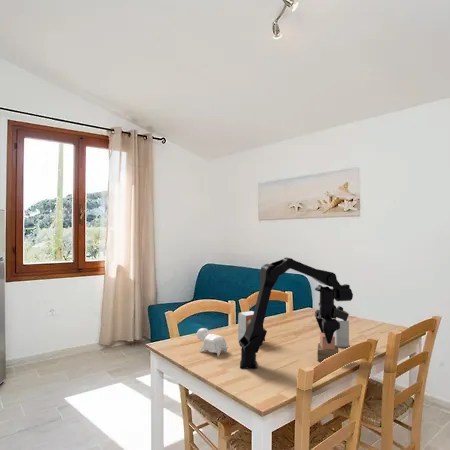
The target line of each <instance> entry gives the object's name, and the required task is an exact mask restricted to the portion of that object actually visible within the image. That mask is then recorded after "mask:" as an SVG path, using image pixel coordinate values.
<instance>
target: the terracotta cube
mask: <svg viewBox="0 0 450 450" xmlns="http://www.w3.org/2000/svg"><path fill="white" fill-rule="evenodd" d="M319 343H320V346H321V348H322V349H335V336H334V335H333V337H332V341H331V344H328V343H327V340H326V337H325V334H324V333H321V332H319Z"/></svg>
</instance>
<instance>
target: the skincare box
mask: <svg viewBox="0 0 450 450" xmlns="http://www.w3.org/2000/svg"><path fill="white" fill-rule="evenodd" d="M336 320H337V321H338V322H339V323H340V329H338V330H336V331H335V332H334V334H333V335H334V336H335V345H338V348H345V347H346V348H349V347H350V343H349V342H350V320H349V319H347V321H344V320H342V319H340V318H337V317H336Z"/></svg>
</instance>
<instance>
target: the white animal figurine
mask: <svg viewBox="0 0 450 450" xmlns="http://www.w3.org/2000/svg"><path fill="white" fill-rule="evenodd" d="M196 337H197V339H198V340H199V341H201V342H203V345H202V346H201V347H200V349H199V352H200V353H202V352H204V351H206V350H207V351H208V352H209V353H215V354H217V357H220V355H221V353H222V352H224V353H226V354H227V352H228V348H229V346H228V344H227V341H226V339H225V337H224V336H222V335H218V334H213V333H210V332H209V329H207V328H204V327H201V328H199V329H198V330H197V332H196Z"/></svg>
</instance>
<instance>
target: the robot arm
mask: <svg viewBox="0 0 450 450" xmlns="http://www.w3.org/2000/svg"><path fill="white" fill-rule="evenodd" d="M289 270H294V271H296V272H298V273H301V274H303V275H306V276H309V277H311V278H312V279H313V280H314V281H316V282H318V283H319V284H318V285H317V286H316V287H315V288H314V291H317V292H319V302H318V307H319V309H316V310H315V311H314V317H315V320H316V323H317V324H318V328H319V330H320V333H324V334H325V337H326V340H327V343H328V344H331V341H332V337H333V334H334V332H335V331H336V330H338V329H340V323H339V322H338V321H337V320H336V319H337V318H340V319H342V320H344V321H347V320H348V318H349V315H350V314H349V313H348V312H347V311H345V310H344V308H343V306H340V305H338V306H336V305H335V301H336V302H350V301H352V300H353V297H354V294H353V291H352V289H351V287H350V284H347V283H346V284H345V283H344V284H341V283H340V282H339V281H338V278H337V277H338V276H337V275H336V273H334V272H333V271H328V270H324V269H323V270H322V269H319V268H315V267H312V266H309V265H307V264H304V263H302V262H301V261H297V260H294V259H293V258H290V257H284V258H282V259H280V260H276V261H274V262H272V263H265V264H263V265H262V266H261V268H260V271H259V282H260V287H259V290H258V294H257V298H256V303H255V307H254V311H253V312H254V314H253V318H252V321H251V322H250V324H249V325H248V327H247V329H246V331H245V334H244V336H243V337H242V338H241V339H240V340H238V343H239V346H240V348H241V349H240V356H241V357H240V358H241V359H240V361H239V362H240V363H239V368H240V369H255V370H256V369H258V362H257V354H258V353H259V351H260V347H261V346H262V345H263V343H264V342H266V336H267V333H268V332H267V331H268V330H266V329H265V328H264V322H265V318H266V313H267V310H268V306H269V303H270V302H269V301H270V298H271V295H272V290H273V288H274V286H275V285H276V284H277V282H278V280H279V277H280V276H281V275H283V274H285V273H286V272H287V271H289ZM323 285H324V286H323ZM330 287H331V288H330Z"/></svg>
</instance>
